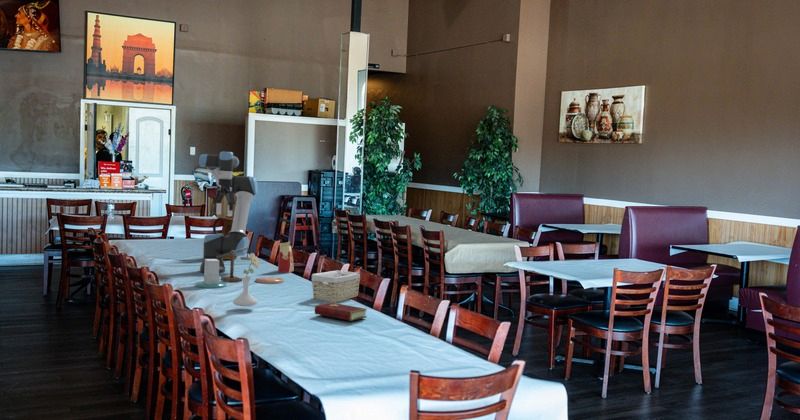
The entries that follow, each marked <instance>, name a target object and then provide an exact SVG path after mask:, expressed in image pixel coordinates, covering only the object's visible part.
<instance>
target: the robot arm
mask: <svg viewBox="0 0 800 420" xmlns="http://www.w3.org/2000/svg"><path fill="white" fill-rule="evenodd" d="M198 164H199V166H200V168H206V169H207V170H208V171H209V173H210V174H211V175H212V177H213V178H214V180H215V184H216V185H217V191H216V195H215V198H214V202H215V203H216V211H215V215H222V203H223V202H222V201H223V199H224V197H225V198H226V200H227V212H226V213H227V215H226V216H227V217H232V218H233V224H232V229H231V231H230V232H229V233H228V236H224V234H220V233H217V234H214V233H212V234H206V235H205V236H204V238H203V253H202V254H203V257H202V258H203V259H202V262H201V263H200V267H199V272H200V273H204V268H205V259H216V256H219V255H223V254H226V253H229V252H230V251H231V250H234V251H236V250H239V249H242V248H245V247H248V248H249V245H250V240H249V237H248V235H247V234H246V229H247V225H248V219H249V213H250V207H251V201H252V200H253V199H254V197H255V196H257V195H258V193H259V192H258V191H259V187H258V186H259V185H258V180H257V178H256V177H255V176H251V175H249V176H246V175H245V176H244V175H233V173H234V172H233V169H236V168H237V167H238V166H239V164H240V160H239V158H238V157H237V156H235V155H234V152H232V151H221V152H219V154H208V153H206V154H200V155H199V157H198ZM235 197H236V199H235ZM234 204H235V207H234V206H233V205H234ZM233 208H234V214H233ZM230 255H231V254H230ZM245 255H247V249H246V250H243V251H239V252H236V253H235V254H234V256H237V257H238V256H239V257H245ZM217 260H219V267H224V269H223V270H219V274H221V273H225V272H226V267H225V263H224V260H223V257H220V258H217Z"/></svg>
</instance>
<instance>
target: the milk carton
mask: <svg viewBox="0 0 800 420" xmlns="http://www.w3.org/2000/svg"><path fill="white" fill-rule="evenodd" d="M278 245H279V254H278V266H277V273H278V272H285V274H290V273H292V272H294V271H295V269H294V257H293V251H292V246H291V241H288V242H287V241H286V242H279V243H278ZM287 272H288V273H287Z"/></svg>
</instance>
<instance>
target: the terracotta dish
mask: <svg viewBox="0 0 800 420" xmlns="http://www.w3.org/2000/svg"><path fill="white" fill-rule="evenodd" d="M284 280H285V279H284V278H282V277H275V276H271V277H270V276H269V277H268V276H264V277H263V276H262V277H261V276H260V277H256V278H255V282H256V283H259V284H270V285H272V284H273V285H274V284H282V283H284V282H285V281H284Z"/></svg>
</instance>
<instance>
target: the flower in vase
mask: <svg viewBox="0 0 800 420" xmlns="http://www.w3.org/2000/svg"><path fill="white" fill-rule="evenodd" d="M249 257H250V260H249V261H250V262H251V263H250V264H249V267H248V270H246V269H244V270H243V274H245V275H242V276H240V278H242V284H243V286H242V287H243V289H242V292H241V293H240V294H239V295H237V296H236V298H234V299H233V300H232V304H233V305H235V306H239V307H252V306H255V305H257V304H258V300H257V299H256V298H255V297H254V296H253V295H251V294H250V292H249V284H250V281H251V279H252V276H250V275H249V273H251V274H254V273H255V270H254V269H253V268H251V266H253V267H255V268H256V269H259V267H261V266H260V261H259V259H258V256H257V255H255V253H254V252H250V254H249Z"/></svg>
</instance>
